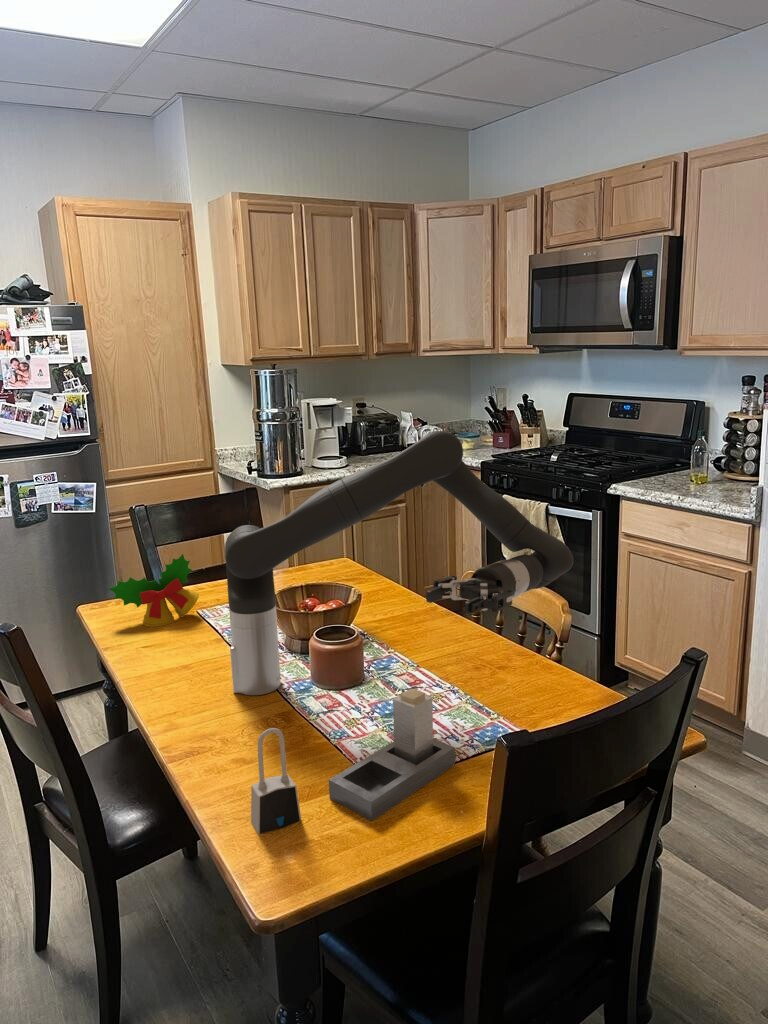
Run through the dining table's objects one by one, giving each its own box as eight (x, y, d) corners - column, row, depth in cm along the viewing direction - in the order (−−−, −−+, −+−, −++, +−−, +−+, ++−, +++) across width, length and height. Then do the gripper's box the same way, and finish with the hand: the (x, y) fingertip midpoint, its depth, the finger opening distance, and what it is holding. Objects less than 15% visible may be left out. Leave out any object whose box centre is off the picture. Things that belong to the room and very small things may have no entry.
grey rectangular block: (415, 776, 125) (414, 702, 122) (394, 766, 128) (392, 694, 125) (433, 764, 128) (432, 692, 125) (412, 755, 131) (411, 685, 128)
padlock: (258, 835, 112) (252, 741, 109) (250, 820, 116) (243, 728, 112) (302, 822, 115) (297, 729, 112) (292, 807, 119) (287, 717, 115)
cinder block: (371, 821, 115) (371, 801, 114) (329, 798, 120) (328, 779, 120) (455, 764, 129) (454, 747, 128) (413, 746, 135) (413, 729, 134)
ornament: (135, 646, 195) (109, 602, 186) (130, 627, 201) (106, 584, 193) (212, 611, 199) (191, 567, 190) (206, 593, 206) (185, 550, 197)
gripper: (470, 555, 150) (415, 573, 139) (534, 570, 141) (480, 591, 129) (469, 592, 152) (415, 613, 141) (532, 609, 143) (479, 633, 131)
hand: (446, 602), depth 135 cm, fingers open, 8 cm apart
